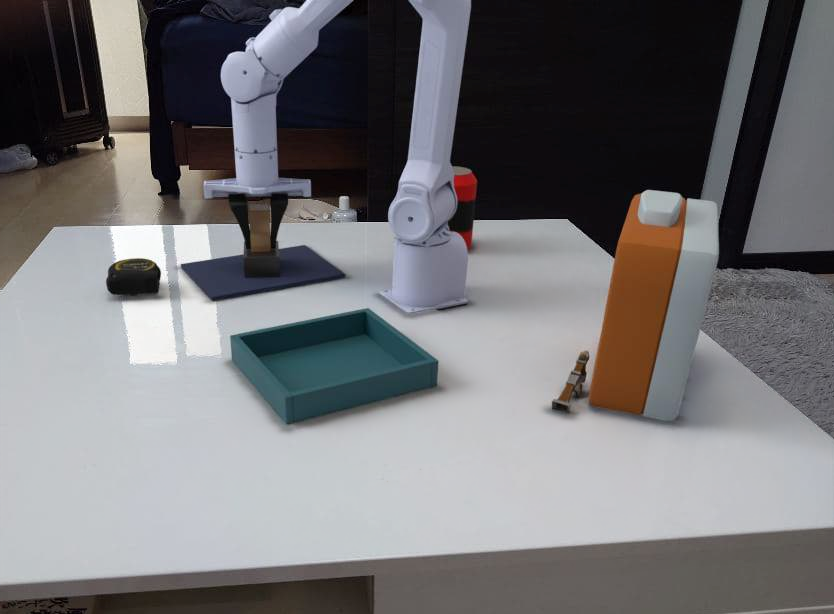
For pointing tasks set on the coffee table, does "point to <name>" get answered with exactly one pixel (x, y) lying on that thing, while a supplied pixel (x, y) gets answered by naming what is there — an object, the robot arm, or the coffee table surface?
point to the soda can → (464, 204)
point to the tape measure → (133, 277)
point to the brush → (260, 246)
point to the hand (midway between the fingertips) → (261, 246)
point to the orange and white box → (655, 304)
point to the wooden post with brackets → (573, 383)
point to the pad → (229, 280)
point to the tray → (331, 364)
